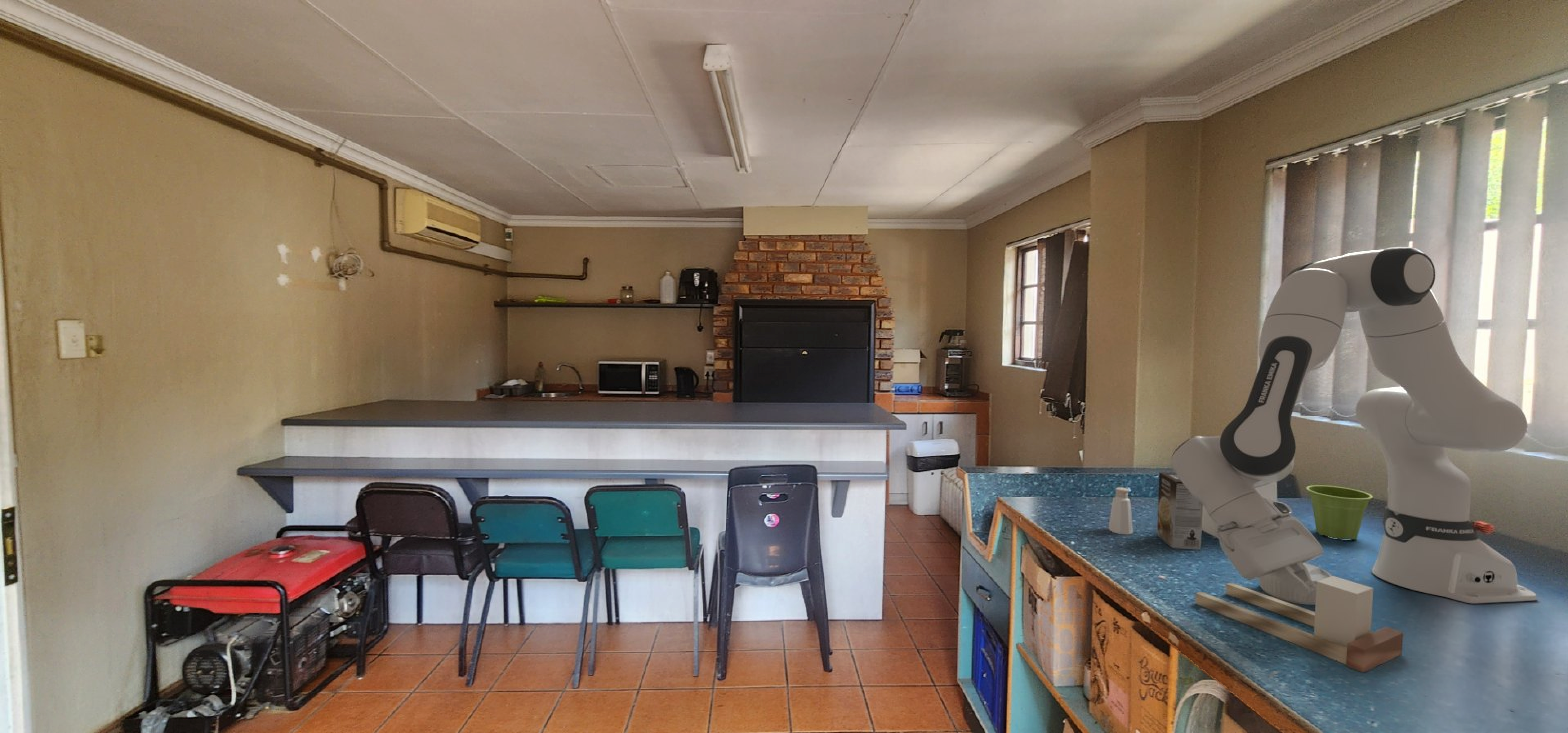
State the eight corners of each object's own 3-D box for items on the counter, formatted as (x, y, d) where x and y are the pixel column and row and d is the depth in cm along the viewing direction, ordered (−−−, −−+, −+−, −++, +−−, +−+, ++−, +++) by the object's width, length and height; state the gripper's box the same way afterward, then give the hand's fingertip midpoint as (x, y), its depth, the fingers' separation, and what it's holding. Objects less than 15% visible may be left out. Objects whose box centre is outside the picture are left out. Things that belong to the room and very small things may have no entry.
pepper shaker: (1133, 530, 148) (1134, 487, 148) (1132, 536, 144) (1134, 492, 143) (1109, 526, 151) (1110, 484, 151) (1107, 532, 147) (1108, 489, 146)
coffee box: (1155, 535, 145) (1157, 471, 144) (1184, 536, 143) (1186, 472, 142) (1172, 548, 136) (1174, 480, 135) (1202, 550, 134) (1205, 482, 133)
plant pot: (1292, 527, 150) (1294, 484, 149) (1343, 529, 148) (1345, 485, 148) (1328, 544, 138) (1330, 497, 138) (1384, 546, 137) (1387, 499, 136)
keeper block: (1313, 641, 95) (1316, 581, 94) (1329, 634, 97) (1332, 575, 96) (1353, 656, 90) (1357, 594, 89) (1369, 649, 92) (1373, 588, 91)
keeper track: (1193, 604, 108) (1194, 585, 108) (1231, 592, 113) (1232, 574, 113) (1363, 673, 86) (1364, 650, 86) (1401, 654, 91) (1403, 632, 91)
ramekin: (1338, 614, 104) (1340, 585, 104) (1259, 599, 110) (1260, 572, 110) (1322, 590, 114) (1324, 564, 114) (1250, 577, 120) (1251, 552, 119)
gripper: (1225, 518, 99) (1293, 598, 90) (1291, 502, 107) (1358, 574, 99) (1197, 536, 103) (1258, 613, 95) (1262, 519, 112) (1324, 589, 103)
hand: (1310, 593), depth 97 cm, fingers closed
